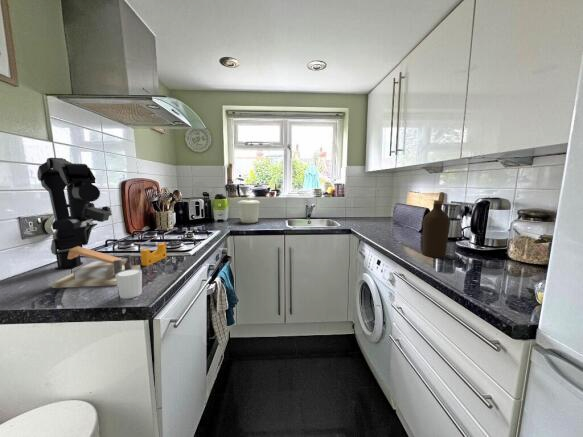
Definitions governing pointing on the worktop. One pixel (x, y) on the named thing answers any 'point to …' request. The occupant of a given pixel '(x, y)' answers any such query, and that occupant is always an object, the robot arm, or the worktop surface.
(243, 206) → the canister
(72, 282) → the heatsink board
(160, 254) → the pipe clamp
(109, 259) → the tan wooden bar
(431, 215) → the olive oil
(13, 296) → the worktop surface
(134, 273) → the white cylinder
